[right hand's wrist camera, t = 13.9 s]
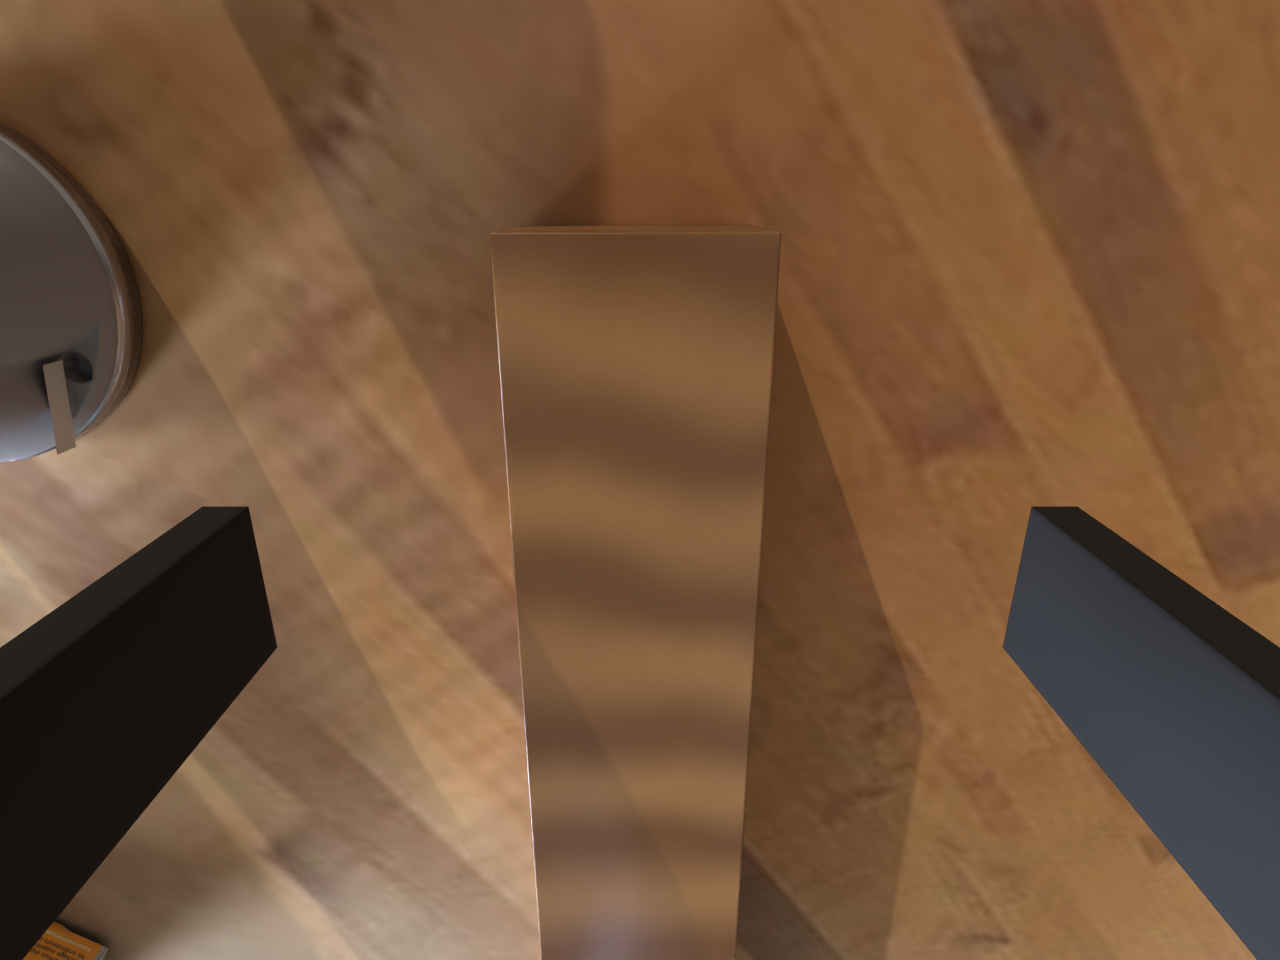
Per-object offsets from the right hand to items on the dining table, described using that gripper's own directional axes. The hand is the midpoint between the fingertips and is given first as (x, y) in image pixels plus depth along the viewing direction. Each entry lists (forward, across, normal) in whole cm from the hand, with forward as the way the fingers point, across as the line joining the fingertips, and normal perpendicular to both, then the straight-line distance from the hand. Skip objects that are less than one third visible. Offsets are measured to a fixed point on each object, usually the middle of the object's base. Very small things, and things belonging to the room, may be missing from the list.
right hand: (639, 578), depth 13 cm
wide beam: (+23, 0, -30) cm, 37 cm away
